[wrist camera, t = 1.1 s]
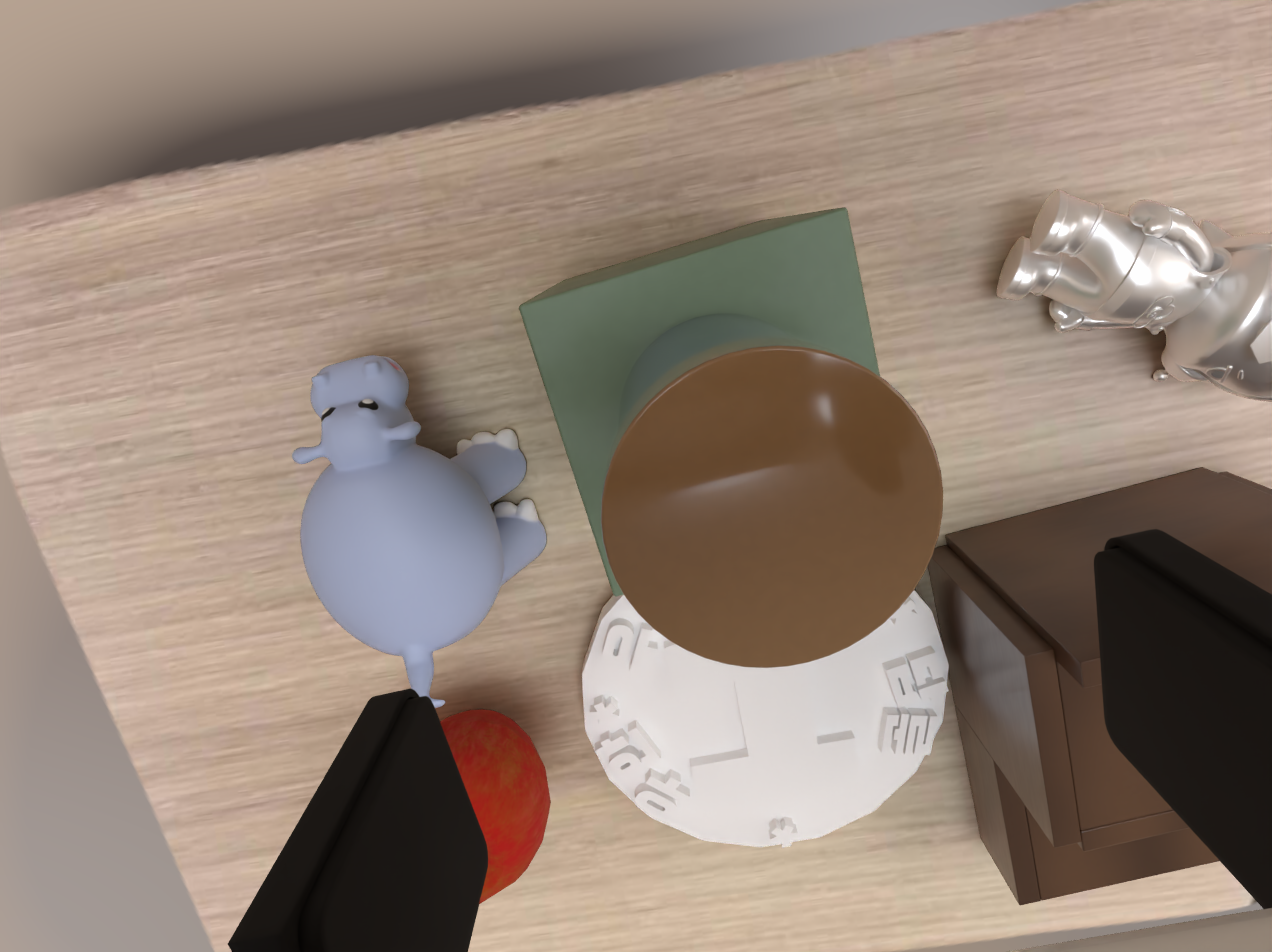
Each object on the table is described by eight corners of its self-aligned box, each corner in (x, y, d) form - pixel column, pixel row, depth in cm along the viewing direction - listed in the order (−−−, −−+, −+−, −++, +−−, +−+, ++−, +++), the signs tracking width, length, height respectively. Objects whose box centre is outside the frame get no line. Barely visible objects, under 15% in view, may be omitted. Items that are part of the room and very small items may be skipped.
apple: (537, 805, 46) (509, 968, 36) (400, 767, 45) (331, 924, 35) (579, 688, 44) (562, 827, 33) (435, 646, 43) (372, 775, 33)
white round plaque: (564, 796, 46) (559, 832, 43) (607, 490, 40) (605, 508, 37) (886, 835, 47) (903, 872, 44) (974, 540, 41) (999, 562, 38)
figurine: (1095, 192, 28) (1509, 331, 27) (1106, 82, 32) (1472, 200, 31) (959, 364, 37) (1264, 474, 36) (980, 264, 41) (1257, 361, 40)
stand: (762, 219, 36) (847, 206, 22) (808, 417, 39) (909, 519, 25) (562, 280, 37) (517, 306, 23) (621, 469, 40) (614, 598, 25)
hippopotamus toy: (485, 321, 38) (438, 346, 28) (564, 590, 42) (544, 687, 33) (279, 371, 38) (169, 411, 29) (378, 630, 43) (308, 736, 33)
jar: (805, 277, 22) (911, 301, 14) (850, 488, 24) (969, 623, 16) (585, 342, 23) (555, 404, 14) (646, 543, 25) (653, 702, 16)
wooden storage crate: (1225, 460, 40) (1494, 560, 27) (1246, 777, 46) (1474, 977, 33) (923, 540, 41) (1048, 670, 29) (980, 838, 47) (1105, 1053, 34)
